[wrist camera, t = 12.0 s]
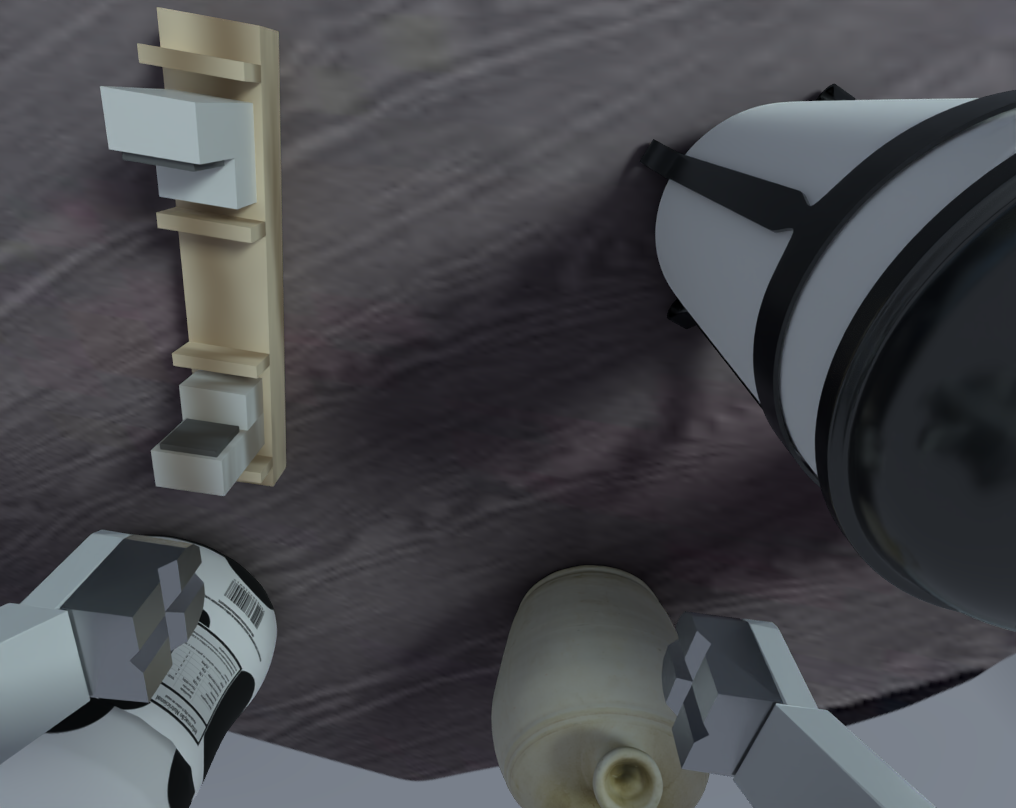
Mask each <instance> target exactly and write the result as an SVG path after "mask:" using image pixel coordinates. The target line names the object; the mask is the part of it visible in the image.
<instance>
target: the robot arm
mask: <svg viewBox="0 0 1016 808" xmlns="http://www.w3.org/2000/svg"><path fill="white" fill-rule="evenodd" d="M201 563H202V560H201V554H200V547H199V546H197V545H195V544H191V543H185V542H179V541H173V540H167V539H161V538H154V537H148V536H142V535H136V534H133V535H132V534H126V533H120V532H114V531H108V530H100V531H97V532H95V533H92V534H91V535H90V536H89V537H88V538H86V539H85V540H84V541H83V542H82V543H81V544H80V545H79V546H78V547H77V548H76V549H75V550H74V551H73V552H72V553H71V554H70V555H69V556H68V557H67V558H66V559H65V560H64V561H63V562H62V563H61V564H60V565H59V566H58V567H57V568H56V569H55V570H54V571H53V572H52V573H51V574H50V575H49V576H48V577H47V578H46V579H45V580H44V581H43V582H41V583H40V584H39V585H38V586H37V587H36V588H35V589H34V590H33V591H32V592H31V593H30V594H29V595H28V596H27V597H26V598H25V599H24V600H23V601H22V602H21V603H20V604H14V603H8V604H5V605H3V606H1V607H0V765H1V764H2V763H3V762H5V761H6V760H8V759H9V758H10V757H12V756H13V755H15V754H16V753H17V752H19V751H20V750H22V749H23V748H24V747H26V746H27V745H29V744H30V743H31V742H33V741H34V740H36V739H37V738H38V737H40V736H41V735H43V734H44V733H45V732H47V731H48V730H50V729H51V728H52V727H54V726H55V725H57V724H58V723H59V722H61V721H62V720H64V719H65V718H66V717H68V716H69V715H71V714H72V713H73V712H75V711H76V710H78V709H79V708H80V707H82V706H83V705H85V704H86V703H87V702H89V701H90V697H95V698H105V699H116V700H126V701H137V702H147V703H149V701H150V700H151V698H152V697H153V695H154V694H155V692H156V690H157V689H158V687H159V686H160V684H161V683H162V681H163V679H164V678H165V676H166V675H167V673H168V672H169V670H170V668H171V667H172V665H173V664H172V656H171V651H172V650H174V649H176V648H177V647H179V646H181V645H182V644H184V643H185V642H187V641H188V640H189V638H190V636H191V635H192V633H193V632H194V630H195V628H196V627H197V624H198V621H199V619H200V616H201V613H202V610H203V607H204V598H205V588H204V582H203V581H202V580H201V579H200V578H199V577H198V576H197V575H196V573H195V572H196V570H197V569H198V567H199V566H200V564H201ZM676 631H677V634H678V638H679V639H677V640H676V641H674V642H673V643H671V644H670V645H668V647H667V650H666V653H665V655H664V658H663V665H662V675H661V677H662V689H663V693H664V698H665V703H666V704H667V705H668V706H669V708H670V709H671V710H672V711H673V712H674V713H675V714H676V716H677V718H676V720H675V722H674V725H673V727H672V732H673V736H674V740H675V744H676V749H677V753H678V757H679V761H680V765H681V769H685V770H691V771H698V772H704V773H711V774H718V775H724V776H731V777H734V779H733V780H734V782H735V783H736V785H737V786H738V787H739V789H740V790H741V791H742V793H743V794H744V795H745V797H746V798H747V800H748V801H749V802H750V804H751V805H752V806H753V808H936V807H935V806H934V805H933V804H932V803H931V802H929V801H928V800H927V799H926V798H925V797H924V796H923V795H922V794H920V793H919V792H918V791H917V790H916V789H915V788H914V787H913V786H912V785H910V784H909V783H908V782H907V781H906V780H905V779H904V778H903V777H901V776H900V775H899V774H898V773H897V772H896V771H895V770H893V769H892V768H891V767H890V766H889V765H888V764H887V763H886V762H885V761H884V760H882V759H881V758H880V757H879V756H878V755H877V754H876V753H875V752H873V751H872V750H871V749H870V748H869V747H868V746H866V744H865V743H863V742H862V741H861V740H860V739H859V738H858V737H857V736H856V735H854V734H853V733H852V732H851V731H850V730H849V729H848V728H847V727H845V726H844V725H843V724H842V723H841V722H840V721H839V720H838V719H837V718H835V717H834V716H833V715H832V714H831V713H830V712H829V711H828V710H822V709H818V707H817V705H816V703H815V701H814V699H813V697H812V695H811V693H810V691H809V689H808V687H807V685H806V683H805V681H804V679H803V677H802V675H801V673H800V671H799V669H798V667H797V665H796V663H795V661H794V659H793V657H792V655H791V653H790V651H789V649H788V647H787V645H786V643H785V641H784V639H783V637H782V635H781V633H780V631H779V629H778V627H777V626H776V625H775V624H773V623H772V622H766V621H758V620H750V619H740V618H733V617H725V616H718V615H710V614H702V613H694V612H686V611H685V612H684V613H683V614H682V615H681V616H680V618H679V620H678V622H677V625H676Z"/></svg>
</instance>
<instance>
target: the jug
mask: <svg viewBox="0 0 1016 808" xmlns="http://www.w3.org/2000/svg"><path fill="white" fill-rule="evenodd" d="M677 639H679V638H678V634H677V632H676V630H675V628H674V626H673V624H672V622H671V620H670V618H669V616H668V614H667V613H666V611H665V610H664V608H663V607H662V605H661V604H660V603H659V601H658V599H657V597H656V596H655V594H654V593H653V592H652V590H651V589H650V588H649V587H648V586H647V585H646V584H645V583H644V582H643V581H642V580H640V579H639V578H637V577H636V576H634V575H632V574H630V573H628V572H625V571H623V570H620V569H617V568H612V567H607V566H596V565H582V566H576V567H571V568H567V569H563V570H560V571H557V572H554V573H552V574H550V575H548V576H546V577H545V578H543V579H542V580H540V581H539V582H537V583H536V584H535V585H534V586H533V587H532V588H531V589H530V590H529V591H528V592H527V594H526V595H525V597H524V598H523V600H522V602H521V604H520V606H519V609H518V611H517V613H516V615H515V618H514V620H513V623H512V626H511V629H510V632H509V636H508V639H507V643H506V647H505V650H504V654H503V658H502V662H501V666H500V670H499V674H498V678H497V683H496V687H495V691H494V696H493V702H492V714H491V721H492V735H493V742H494V748H495V753H496V756H497V760H498V764H499V767H500V770H501V772H502V774H503V777H504V779H505V781H506V784H507V786H508V788H509V790H510V792H511V794H512V795H513V797H514V799H515V800H516V801H517V803H518V804H519V805H520V806H521V807H522V808H695V806H696V805H697V803H698V802H699V800H700V799H701V796H702V795H703V793H704V790H705V788H706V785H707V782H708V778H709V773H704V772H698V771H691V770H685V769H681V765H680V761H679V757H678V753H677V749H676V744H675V740H674V736H673V732H672V727H673V725H674V722H675V720H676V718H677V716H676V714H675V713H674V712H673V711H672V710H671V709H670V708H669V706H668V705H667V704H666V703H665V698H664V693H663V689H662V677H661V675H662V665H663V658H664V655H665V653H666V650H667V647H668V645H670V644H671V643H673V642H674V641H676V640H677Z"/></svg>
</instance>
